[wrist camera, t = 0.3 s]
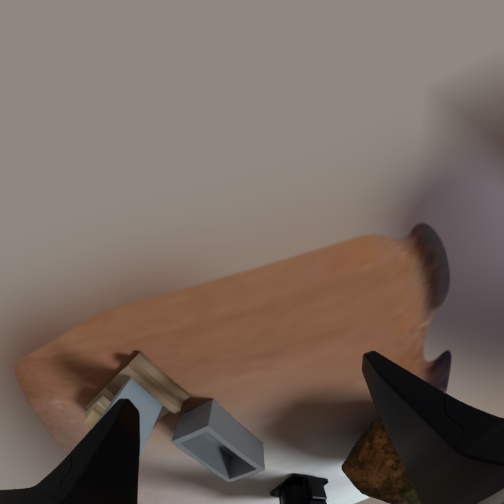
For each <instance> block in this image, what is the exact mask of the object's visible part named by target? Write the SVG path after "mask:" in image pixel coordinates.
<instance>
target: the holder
mask: <svg viewBox="0 0 504 504" xmlns="http://www.w3.org/2000/svg"><path fill="white" fill-rule="evenodd" d="M172 442H173V443H174V444H175V445H177V446H178V447H179V448H180V449H182V450H183V451H184V452H186V453H187V454H188V455H189V456H191V457H192V458H193V459H195V460H196V461H198V462H199V463H200V464H202V465H203V466H205V467H206V468H207V469H209V470H210V471H212V472H213V473H215V474H216V475H218V476H219V477H221V478H222V479H224V480H226V481H227V482H232V481H235V480H238V479H241V478H244V477H247V476H250V475H252V474H255V473H258V472H260V471H263V470H265V465H264V452H263V443H262V442H261V441H260V440H258V439H257V438H256V437H255V436H254V435H252V434H251V433H250V432H249V431H248V430H247V429H245V428H244V427H243V426H242V425H241V424H240V423H239V422H238V421H236V420H235V419H234V418H233V417H232V416H231V415H230V414H229V413H228V412H227V411H225V410H224V409H223V408H222V407H221V406H220V405H219V404H218V403H217V402H216V401H215V400H214V399H211V400H210V401H208V402H206V403H204V404H202V405H200V406H198V407H196V408H194V409H192V410H190V411H188V412H186V413H184V414H182V415H180V417H179V420H178V423H177V426H176V429H175V432H174V435H173V438H172Z"/></svg>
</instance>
